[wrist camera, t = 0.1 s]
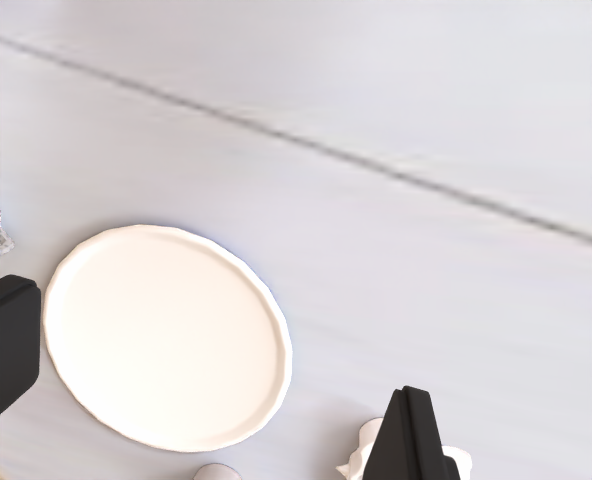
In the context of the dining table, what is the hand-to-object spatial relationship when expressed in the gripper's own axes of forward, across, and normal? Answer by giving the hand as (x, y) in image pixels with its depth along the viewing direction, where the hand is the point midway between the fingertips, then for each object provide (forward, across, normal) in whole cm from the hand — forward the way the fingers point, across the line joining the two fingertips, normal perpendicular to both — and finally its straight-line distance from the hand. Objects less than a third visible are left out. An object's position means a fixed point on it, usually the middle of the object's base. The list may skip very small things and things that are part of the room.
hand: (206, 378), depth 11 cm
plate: (+31, +12, +24) cm, 41 cm away
